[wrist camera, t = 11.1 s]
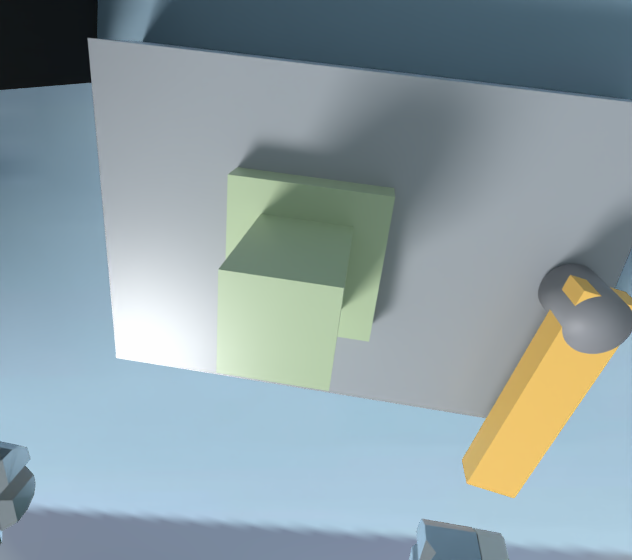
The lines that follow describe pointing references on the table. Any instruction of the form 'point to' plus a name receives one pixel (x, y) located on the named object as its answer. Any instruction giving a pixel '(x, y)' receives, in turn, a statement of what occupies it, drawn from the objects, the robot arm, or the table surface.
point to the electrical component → (45, 42)
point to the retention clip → (549, 377)
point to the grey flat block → (365, 168)
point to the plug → (297, 273)
